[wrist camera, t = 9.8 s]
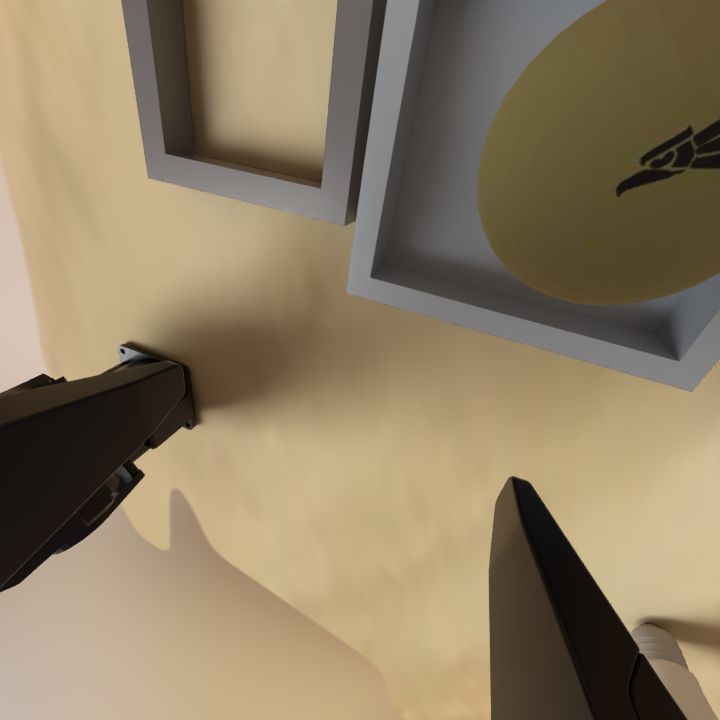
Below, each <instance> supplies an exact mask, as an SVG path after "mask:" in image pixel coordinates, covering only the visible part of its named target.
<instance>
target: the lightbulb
mask: <svg viewBox="0 0 720 720" xmlns="http://www.w3.org/2000/svg"><path fill="white" fill-rule="evenodd" d="M631 636H632V637H633V639H634V640H635V642H636V643H637V645H638V646H639V648H640V652H639V653H643V654H644V655H645V657H646V658H647V660H648V661H649V663H650V664H651V666H652V667H653V669H654V670H655V672H656V673H657V675H658V676H659V678H660V679H661V681H662V682H663V684H664V685H665V687H666V688H667V690H668V691H669V692H670V694H671V695H672V697H673V698H674V700H675V701H676V703H677V704H678V706H679V707H680V709H681V710H682V711H683V713H684V714H685V716H686V717H687V719H688V720H719V719H718V718H717V716H716V715H715V713H714V712H713V710H712V708H711V706H710V705H709V703H708V701H707V699H706V698H705V696H704V694H703V692H702V689H701V687H700V685H699V682H698V680H697V679H696V677H695V676H694V675H693V674H692V673H691V672H690V671H689V669H688V667H687V664H686V661H685V658H684V657H683V654H682V651H681V649H680V648H679V645H678V643H677V641H676V639H675V638H674V637H673V636H672V635H671V634H669V633H668V632H666V631H664V630H662V629H659V628H658V627H656V626H655V625H652V624H643V625H641V627H638V628H636V629H634V630H633V631H632V633H631Z"/></svg>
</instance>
